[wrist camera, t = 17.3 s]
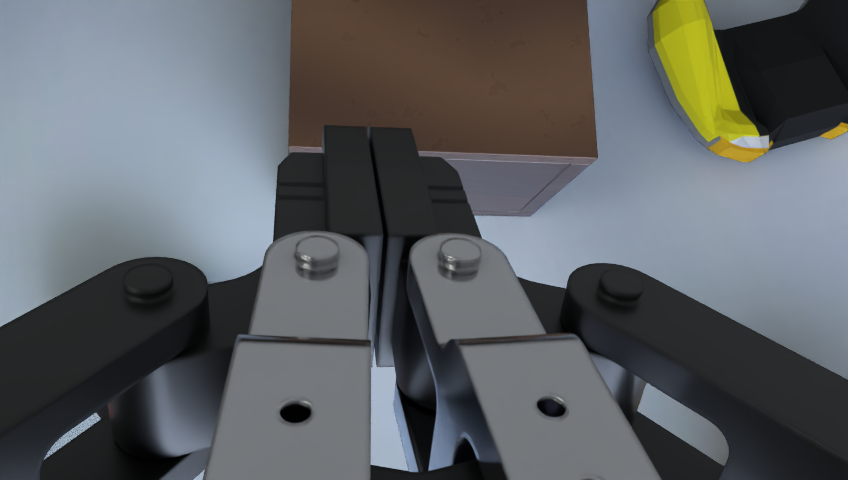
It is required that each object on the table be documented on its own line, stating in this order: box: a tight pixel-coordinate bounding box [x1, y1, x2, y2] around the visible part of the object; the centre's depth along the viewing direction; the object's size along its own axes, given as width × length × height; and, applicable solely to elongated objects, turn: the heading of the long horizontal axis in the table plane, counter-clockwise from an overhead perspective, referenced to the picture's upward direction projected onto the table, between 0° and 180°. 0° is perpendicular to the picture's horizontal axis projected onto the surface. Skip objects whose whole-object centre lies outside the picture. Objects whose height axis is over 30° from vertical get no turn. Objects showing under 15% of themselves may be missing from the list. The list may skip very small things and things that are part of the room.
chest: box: [289, 153, 590, 216], centre depth 38 cm, size 16×13×9 cm
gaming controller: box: [647, 0, 848, 162], centre depth 44 cm, size 15×6×10 cm
